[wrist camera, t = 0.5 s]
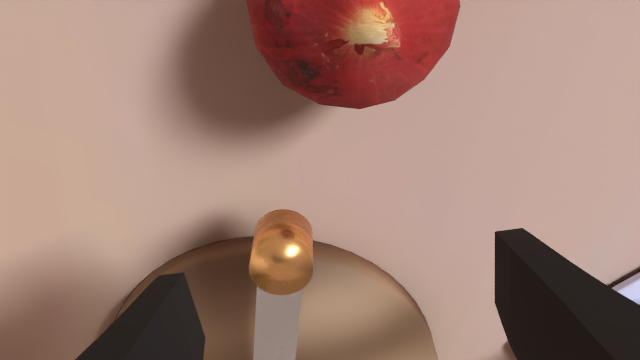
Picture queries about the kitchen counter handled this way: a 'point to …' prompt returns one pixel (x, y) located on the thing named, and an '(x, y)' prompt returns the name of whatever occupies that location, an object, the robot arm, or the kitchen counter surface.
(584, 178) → the kitchen counter surface
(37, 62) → the kitchen counter surface
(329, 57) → the onion
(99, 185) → the kitchen counter surface
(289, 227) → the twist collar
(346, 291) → the base
